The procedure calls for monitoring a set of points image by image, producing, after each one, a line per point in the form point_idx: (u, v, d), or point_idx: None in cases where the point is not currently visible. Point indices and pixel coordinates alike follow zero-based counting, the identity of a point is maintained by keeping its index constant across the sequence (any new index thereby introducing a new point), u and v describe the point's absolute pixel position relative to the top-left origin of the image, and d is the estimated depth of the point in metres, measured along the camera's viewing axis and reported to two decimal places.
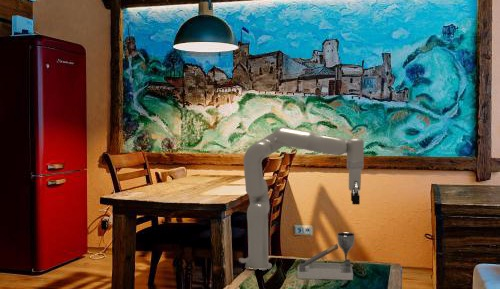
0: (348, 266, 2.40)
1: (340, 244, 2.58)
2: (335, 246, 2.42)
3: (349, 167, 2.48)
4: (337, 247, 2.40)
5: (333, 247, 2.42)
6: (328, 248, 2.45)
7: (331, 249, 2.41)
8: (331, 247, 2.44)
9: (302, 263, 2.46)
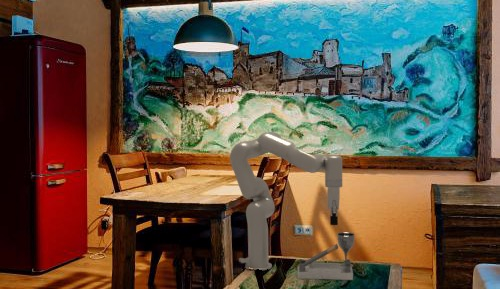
0: (348, 266, 2.40)
1: (340, 244, 2.58)
2: (335, 246, 2.42)
3: (327, 185, 2.39)
4: (337, 247, 2.40)
5: (333, 247, 2.42)
6: (328, 248, 2.45)
7: (331, 249, 2.41)
8: (331, 247, 2.44)
9: (302, 263, 2.46)
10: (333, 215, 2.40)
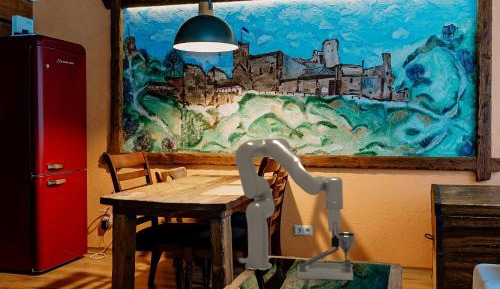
0: (348, 266, 2.40)
1: (340, 244, 2.58)
2: (336, 247, 2.42)
3: (328, 207, 2.40)
4: (338, 248, 2.40)
5: (334, 248, 2.42)
6: (329, 249, 2.45)
7: (332, 250, 2.41)
8: (332, 248, 2.44)
9: (302, 263, 2.46)
10: (334, 237, 2.41)
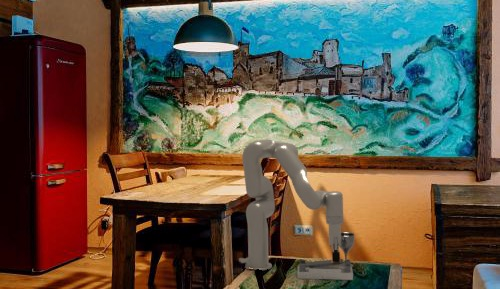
0: (348, 266, 2.40)
1: None
2: (340, 261, 2.42)
3: (328, 222, 2.40)
4: (342, 262, 2.40)
5: (338, 261, 2.42)
6: None
7: (336, 262, 2.41)
8: None
9: (303, 263, 2.46)
10: (335, 251, 2.41)
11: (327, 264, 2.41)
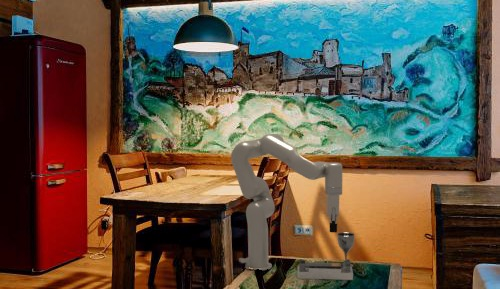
0: (348, 266, 2.40)
1: (340, 244, 2.58)
2: (341, 265, 2.42)
3: (327, 193, 2.39)
4: None
5: (339, 265, 2.42)
6: (333, 263, 2.45)
7: (336, 266, 2.41)
8: (336, 264, 2.44)
9: (303, 263, 2.46)
10: (332, 222, 2.40)
11: (327, 267, 2.41)
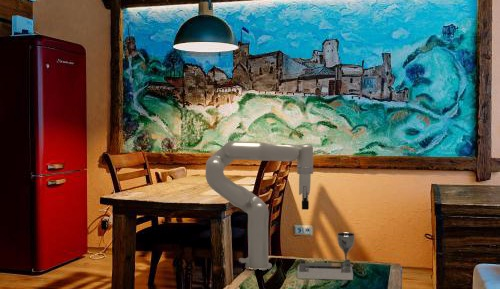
0: (348, 266, 2.40)
1: (340, 244, 2.58)
2: (341, 265, 2.42)
3: (299, 172, 2.57)
4: None
5: (339, 265, 2.42)
6: (333, 263, 2.45)
7: (336, 266, 2.41)
8: (336, 264, 2.44)
9: (303, 263, 2.46)
10: (304, 200, 2.57)
11: (327, 267, 2.41)
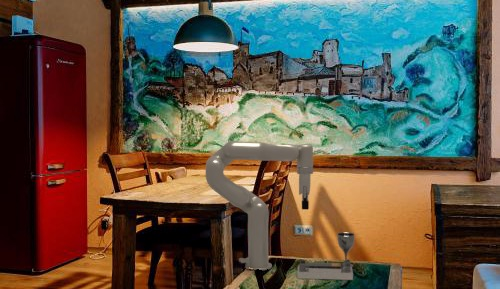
0: (348, 266, 2.40)
1: (340, 244, 2.58)
2: (341, 265, 2.42)
3: (299, 172, 2.57)
4: None
5: (339, 265, 2.42)
6: (333, 263, 2.45)
7: (336, 266, 2.41)
8: (336, 264, 2.44)
9: (303, 263, 2.46)
10: (304, 200, 2.57)
11: (327, 267, 2.41)
